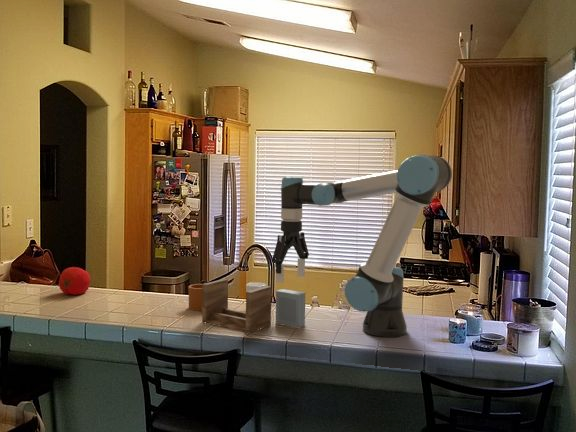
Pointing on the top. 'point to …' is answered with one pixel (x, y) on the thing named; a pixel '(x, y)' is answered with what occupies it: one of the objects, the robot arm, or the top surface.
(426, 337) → the top surface
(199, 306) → the mug
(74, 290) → the tomato
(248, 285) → the white cup
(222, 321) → the wooden frame
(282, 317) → the gray rectangular block
